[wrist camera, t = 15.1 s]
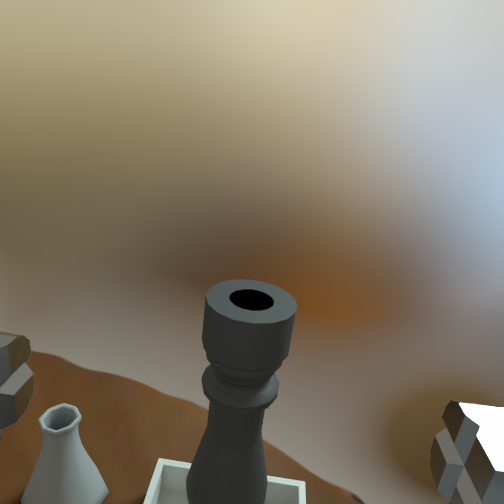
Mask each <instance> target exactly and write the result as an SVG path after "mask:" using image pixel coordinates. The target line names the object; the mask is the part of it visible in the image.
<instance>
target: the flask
mask: <svg viewBox="0 0 504 504" xmlns="http://www.w3.org/2000/svg"><path fill="white" fill-rule="evenodd" d="M80 421H81V415H80V413H79V411H78V409H77V407H75V406H72V405H68V404H65V403H62V404H60V405H57V406H54V407H51V408H49V409H47V410H46V411H45V412H44V413H43V414H42V415H41V416H40V417H39V418H38V422H39V425H40V427H41V430H42V432H43V443H42V449H41V453H40V456H39V459H38V461H37V464H36V466H35V469H34V471H33V474H32V476H31V478H30V481H29V483H28V485H27V487H26V489H25V492H24V494H23V496H22V499H21V504H101V503H102V502H103V500H104V499H105V497H106V496H107V494H108V492H109V491H108V489H107V487H106V485H105V483H104V481H103V479H102V477H101V475H100V473H99V471H98V469H97V467H96V466H95V464H94V463H93V461H92V460H91V458H90V457H89V455H88V454H87V452H86V451H85V449H84V447H83V446H82V443H81V440H80V437H79V433H78V423H79V422H80Z"/></svg>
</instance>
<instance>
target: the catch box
mask: <svg viewBox="0 0 504 504" xmlns="http://www.w3.org/2000/svg"><path fill="white" fill-rule="evenodd" d="M191 464H192V463H186V462H179V461H173V460H167V459H161V458H159V460H158V462H157V465H156V468H155V471H154V474H153V477H152V480H151V483H150V486H149V489H148V491H147V494H146V497H145V500H144V503H143V504H189V503H188V499H187V491H186V477H187V475H188V472H189V469H190V467H191ZM267 481H268V485H267V491H266V498H265V503H264V504H306V494H305V482H304V481H297V480H291V479H285V478H279V477H272V476H267Z"/></svg>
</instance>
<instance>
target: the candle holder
mask: <svg viewBox="0 0 504 504" xmlns="http://www.w3.org/2000/svg"><path fill="white" fill-rule="evenodd" d="M296 307H297V303H296V301H295V300H294V298H293V297H292V295H290V294H289V293H287V292H286V291H284V290H283V289H281V288H279V287H277V286H274V285H271V284H269V283H265V282H260V281H254V280H230V281H225V282H220V283H218V284H216V285H214V286H213V287H211V288H210V289H209V291H208V292H207V294H206V298H205V310H204V321H203V333H202V342H203V347H204V349H205V351H206V356H207V359H208V361H209V362H210V363H211V364H210V365H209V366H208V367H207V368H206V369H205V371H204V373H203V376H202V385H203V391H204V394H205V395H206V397H207V398H208V399H209V400H210V404H209V413H208V423H207V428H206V430H205V433H204V435H203V437H202V440H201V442H200V445H199V447H198V450H197V452H196V455H195V457H194V459H193V462H192V464H191V467H190V469H189V472H188V475H187V477H186V491H187V499H188V503H189V504H264V503H265V498H266V491H267V485H268V481H267V473H266V465H265V457H264V449H263V441H262V433H261V430H262V424H263V417H264V411H265V409H266V408H268V407H269V406H270V405H271V404H272V403H273V401H274V400H275V399H276V398H277V393H278V388H279V381H278V379H277V377H276V374H275V373H274V372H275V371H276V370H277V369H278V368H279V367H280V366H281V365H282V362H283V360H284V359H285V358H286V357H287V356H288V353H289V347H290V341H291V336H292V330H293V325H294V319H295V314H296Z"/></svg>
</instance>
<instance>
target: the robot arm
mask: <svg viewBox="0 0 504 504" xmlns="http://www.w3.org/2000/svg"><path fill="white" fill-rule="evenodd" d="M31 355H32V353H31V347H30V340H29V339H27V338H26V337H25V336H23V335H17V334H12V333H6V332H0V441H1V430H2V429H4V428H6V427H8V426H10V425H12V424H14V423H16V422H17V421H18V420H19V419H20V417H21V416H22V415H23V414H24V412H25V411H26V409H27V407H28V405H29V402H30V400H31V398H32V396H33V389H34V374H33V372H32V371H31V370H30V368H29V367H28V366H27V365H26V363H25V362H26V361H27V360H28V358H29V357H30V356H31ZM442 419H443V421H444V423H445V425H446V427H447V428H445V429H444V430H442V431H441V432H439V433H438V434H436V435H435V438H434V441H433V444H432V447H431V461H430V463H431V464H430V465H431V471H432V477H433V480H434V482H435V485H436V488H437V490H438V491H439V492H440V493H441V494H442V495H443V496H444V497H445V498H446V499H447V500H448V501H449V504H504V408H500V407H493V406H487V405H479V404H472V403H466V402H459V401H452V400H451V401H450V402H449V403H448V404H447V406H446V407H445V410H444V412H443V415H442Z"/></svg>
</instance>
